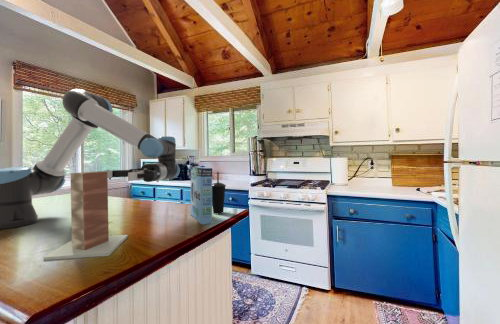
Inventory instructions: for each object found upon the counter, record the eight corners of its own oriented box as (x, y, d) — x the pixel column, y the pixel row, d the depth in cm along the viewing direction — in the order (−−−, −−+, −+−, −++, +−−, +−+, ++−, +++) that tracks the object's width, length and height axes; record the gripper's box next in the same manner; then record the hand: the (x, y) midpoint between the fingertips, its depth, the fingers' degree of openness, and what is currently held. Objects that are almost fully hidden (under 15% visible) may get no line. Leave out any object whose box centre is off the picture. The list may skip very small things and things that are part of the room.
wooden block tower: (72, 248, 70) (70, 173, 70) (96, 239, 78) (94, 171, 78) (85, 250, 69) (83, 173, 69) (108, 240, 77) (107, 171, 76)
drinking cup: (207, 214, 116) (206, 172, 115) (215, 210, 123) (215, 171, 122) (221, 215, 113) (221, 172, 112) (228, 211, 120) (228, 171, 120)
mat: (43, 260, 64) (43, 257, 64) (76, 239, 80) (76, 237, 80) (108, 255, 67) (108, 252, 67) (127, 236, 83) (127, 234, 83)
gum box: (190, 214, 114) (190, 166, 114) (201, 213, 117) (200, 166, 116) (200, 225, 97) (200, 168, 96) (213, 223, 99) (212, 167, 99)
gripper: (179, 182, 98) (143, 188, 77) (128, 180, 104) (82, 185, 84) (179, 163, 98) (143, 165, 77) (128, 162, 104) (82, 164, 84)
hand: (111, 176), depth 81 cm, fingers open, 13 cm apart
